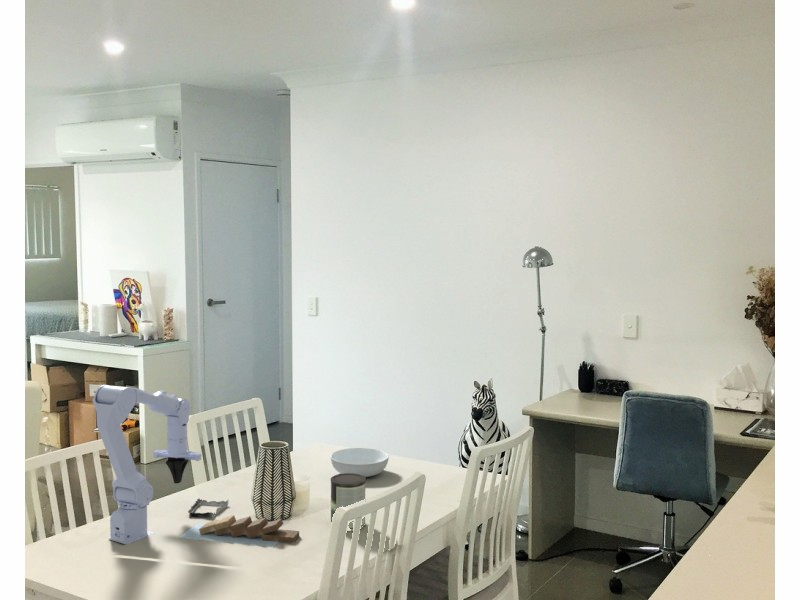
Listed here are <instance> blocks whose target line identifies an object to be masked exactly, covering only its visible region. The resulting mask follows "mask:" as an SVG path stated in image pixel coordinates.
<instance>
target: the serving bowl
mask: <svg viewBox="0 0 800 600" xmlns="http://www.w3.org/2000/svg"><path fill="white" fill-rule="evenodd" d="M389 459H390V457H389V454H388V453H387V452H386V451H384V450H380V449H377V448H370V447H366V448H365V447H351V448H344V449H339V450H336V451H333V452H332V453H331V454H330V461H331V464H332V467H333V469H335V471H336V472H338V473H339V474H344V473H353V474H360V475H362V476H364V477H365V478H368V477H373V476H376V475H378V474H380V473H382V472H383V471H384V470H385V469H386V467H387V465H388V462H389Z"/></svg>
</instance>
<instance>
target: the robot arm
mask: <svg viewBox="0 0 800 600" xmlns="http://www.w3.org/2000/svg"><path fill="white" fill-rule="evenodd" d="M139 403H140V404H143V405H147V406H148V407H149V409H150V410H151V411H152V412H155V413H159V414H161V415H162V414H163V416H165V417H166V421H167V422H166V423H167V424H166V426H167V428H166V430H167V433H166V435H167V436H166V438H167V443H166V445H167V446H166V447H167V448H166V449H156V450H154V451H153V459H154V458H155V459H157V458H160V459H161V458H162V459H163V458H164V459H167V460H166V461H165V464H166V465H167V467H168V469H169V471H170V473H171V476H172V480H173V483H174V484H180V483H181V482H182V480H183V479H182V478H183V474H184V471H185V469H186V467H187V464H188V463H189V461H190V460H191V461H195V462H199V461H201V460H202V453H201V452H196V451H192V450H188V423H189V422H190V421H189V420H190V418H189V417H190V414H191V413H192V406H191V403H190V402H189V401H188V400H187V399H186V398H179V397H177V395H176V394H171V395H170V394H169V393H168V394H167V391H165V390H159V391H156V392H153V393H150V392H147V391H145V390H143V389H140V388H137V387H130V386H121V385H120V386H119V385H109V384H102V385H100V386H99V387H98V388H97V389H96V391H95V394H94V396H93V398H92V404H93V407H94V409H95V411H96V412H95V413H96V426H97V429H98V432H99V435H100V438H101V440H102V442H103V445H104V448H105V450H106V453H107V456H108V459H109V461H110V464H111V466H112V469H113V472H114V474H115V478H114V479H113V480H112V482H111V485H112V489H113V490H112V492H113V493H112V496H113V499H114V500H115V501H116V502H117V506H119V507H118V508H117V509H116V510H115V511H113V512H112V513H111V515H110V520H109V521H110V524H109V525H110V528H109V529H110V536H108V540H110V541H114V542H116V543H119V544H120V543H121V544H124V545H128V544H131V543H133V542H136V541H138V540H141V539H143V538H146V537H149V536H151V535H153V534H155V532H153V531H150V530H148V506H149V505H150V503H151V501H152V499H153V497H154V488H153V486H152V484H150V483H149V482H148V480H147V478H146V477H145V476H144V475H143V474H141V473H140V472H139V471H138V469H137V467H136V464H135V461H134V458H133V456H132V452H131V450H130V448H129V445H128V442H127V439H126V437H125V433H124V431H123V427H122V425H121V424H122V423H124V422H125V421H126V420H127V418H128V416H129V415H130V414H131V411H132V410H133V409H134V407H135V406H137V405H138V404H139Z"/></svg>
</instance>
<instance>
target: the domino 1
mask: <svg viewBox="0 0 800 600" xmlns="http://www.w3.org/2000/svg"><path fill="white" fill-rule="evenodd" d="M251 522H252V517H251V515H249V516H245V517H243V518H240V519H237V520H236V521H235V522H234V523H232V524H231V525H230V526H229V527H226V528H222V529H219V530H215V533H216V536H219V535H223V534H226V533H229V532H233V531H236V530H240V529H243V528H246V527H247V526H248V525H249V524H250V523H251Z"/></svg>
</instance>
